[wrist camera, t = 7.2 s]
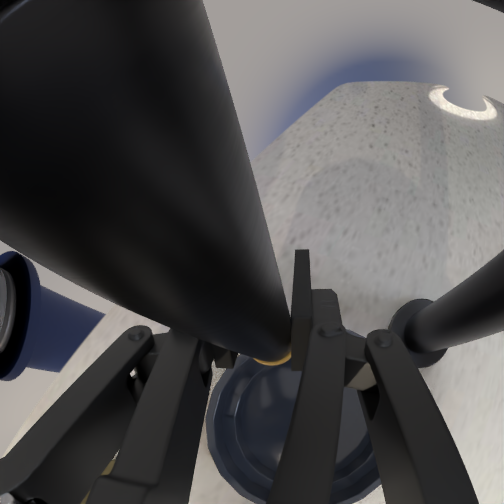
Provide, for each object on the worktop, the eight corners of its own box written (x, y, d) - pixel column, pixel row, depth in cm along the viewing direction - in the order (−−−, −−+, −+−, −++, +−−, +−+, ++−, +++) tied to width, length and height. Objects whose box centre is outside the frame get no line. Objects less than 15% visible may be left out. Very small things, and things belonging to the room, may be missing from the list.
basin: (201, 373, 24) (178, 371, 19) (352, 307, 24) (362, 291, 19) (261, 509, 18) (251, 534, 13) (414, 445, 18) (436, 457, 13)
